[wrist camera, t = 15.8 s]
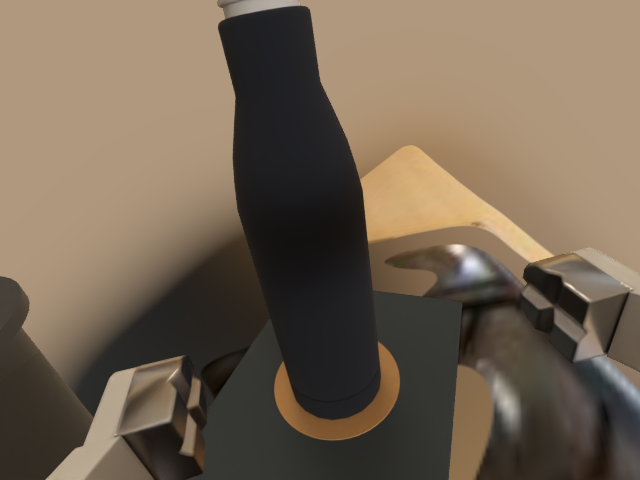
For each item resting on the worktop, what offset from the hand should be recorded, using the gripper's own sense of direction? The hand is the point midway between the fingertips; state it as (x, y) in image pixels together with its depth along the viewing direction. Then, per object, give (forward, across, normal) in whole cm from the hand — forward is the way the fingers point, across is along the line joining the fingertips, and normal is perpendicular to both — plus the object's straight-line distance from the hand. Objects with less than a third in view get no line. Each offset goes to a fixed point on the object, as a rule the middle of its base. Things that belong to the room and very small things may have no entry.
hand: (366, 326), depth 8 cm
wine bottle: (+11, 0, +16) cm, 19 cm away
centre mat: (+11, 0, +16) cm, 19 cm away
